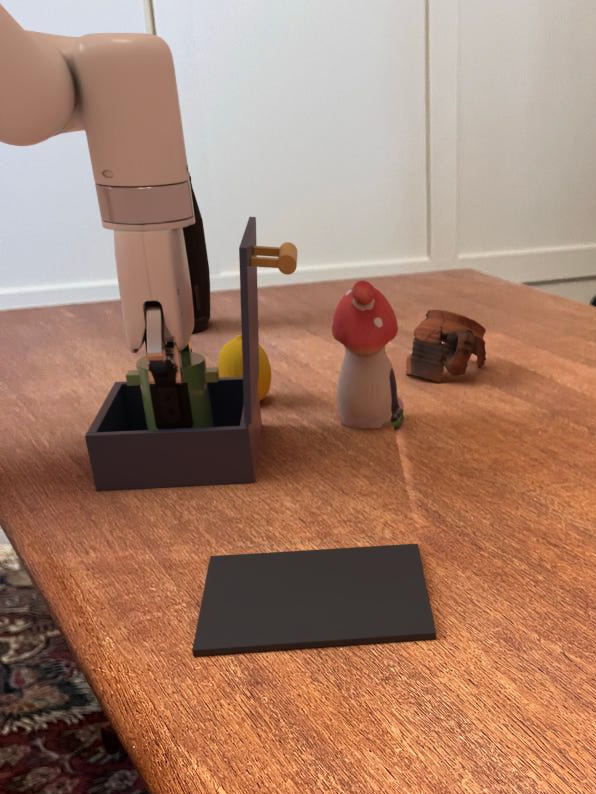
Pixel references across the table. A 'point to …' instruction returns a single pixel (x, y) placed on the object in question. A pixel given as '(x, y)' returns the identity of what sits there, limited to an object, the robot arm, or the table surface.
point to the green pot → (192, 375)
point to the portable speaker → (198, 268)
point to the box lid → (256, 303)
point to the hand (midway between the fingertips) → (179, 414)
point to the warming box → (173, 443)
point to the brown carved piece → (445, 345)
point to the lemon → (233, 364)
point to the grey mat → (313, 600)
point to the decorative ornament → (366, 359)
